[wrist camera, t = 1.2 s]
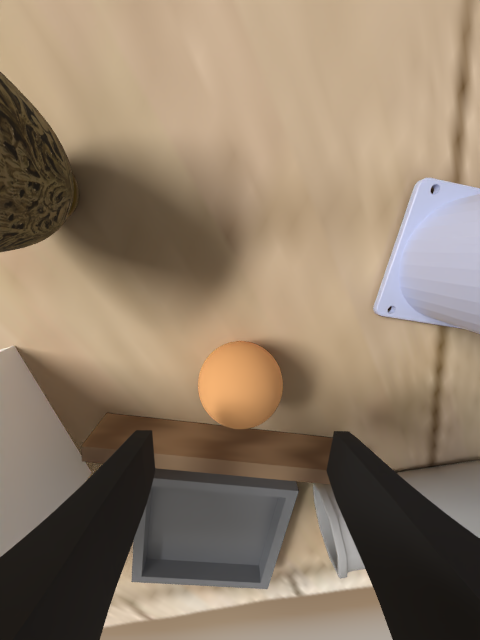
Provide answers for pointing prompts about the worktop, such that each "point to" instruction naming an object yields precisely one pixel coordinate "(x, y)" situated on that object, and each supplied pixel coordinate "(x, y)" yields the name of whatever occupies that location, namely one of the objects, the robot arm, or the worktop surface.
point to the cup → (30, 174)
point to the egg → (240, 385)
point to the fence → (216, 448)
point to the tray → (212, 529)
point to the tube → (433, 482)
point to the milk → (31, 454)
